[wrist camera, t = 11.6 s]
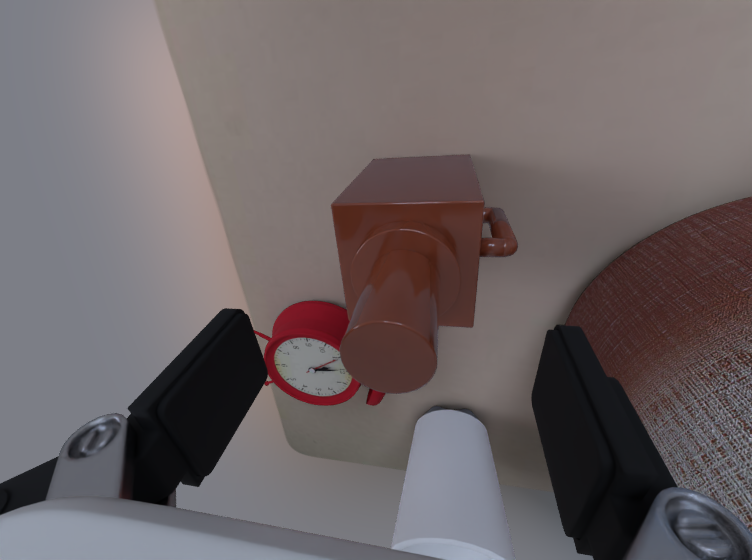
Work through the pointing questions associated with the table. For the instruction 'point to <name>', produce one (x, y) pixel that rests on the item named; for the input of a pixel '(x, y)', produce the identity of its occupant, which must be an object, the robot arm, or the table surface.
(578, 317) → the planter
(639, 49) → the table surface
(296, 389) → the alarm clock
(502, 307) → the table surface
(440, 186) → the brown handled box
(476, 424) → the cup
